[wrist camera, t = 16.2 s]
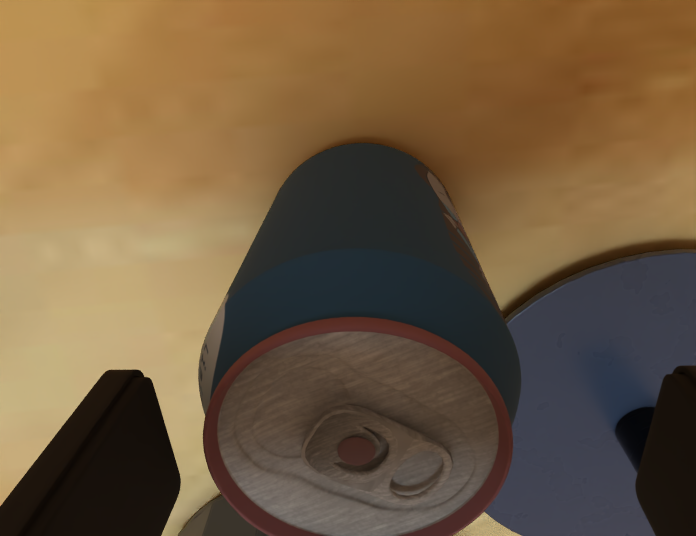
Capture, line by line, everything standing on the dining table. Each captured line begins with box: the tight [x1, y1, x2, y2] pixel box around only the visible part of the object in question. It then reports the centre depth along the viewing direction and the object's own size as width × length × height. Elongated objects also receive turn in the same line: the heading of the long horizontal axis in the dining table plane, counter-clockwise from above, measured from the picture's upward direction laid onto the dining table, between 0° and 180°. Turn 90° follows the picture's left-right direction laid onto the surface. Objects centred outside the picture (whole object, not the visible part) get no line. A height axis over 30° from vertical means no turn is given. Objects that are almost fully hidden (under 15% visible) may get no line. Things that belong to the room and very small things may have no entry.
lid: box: [484, 249, 696, 536], centre depth 21 cm, size 17×17×6 cm
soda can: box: [198, 143, 521, 536], centre depth 15 cm, size 7×7×12 cm
